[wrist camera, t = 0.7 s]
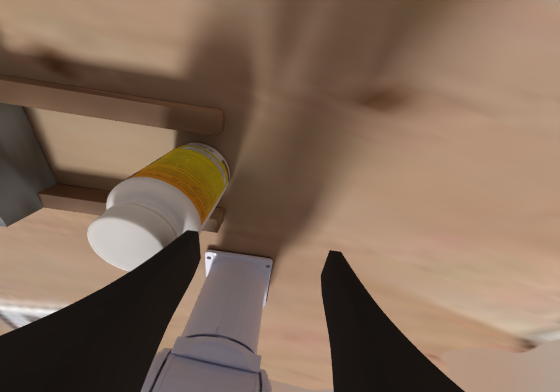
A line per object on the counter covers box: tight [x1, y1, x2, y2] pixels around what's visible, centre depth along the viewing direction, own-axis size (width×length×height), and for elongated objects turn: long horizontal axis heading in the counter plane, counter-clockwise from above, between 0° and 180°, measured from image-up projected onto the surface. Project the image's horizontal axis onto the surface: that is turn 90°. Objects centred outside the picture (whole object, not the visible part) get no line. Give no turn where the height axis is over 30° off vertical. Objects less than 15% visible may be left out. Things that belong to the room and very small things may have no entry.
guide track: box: [0, 75, 224, 233], centre depth 17 cm, size 11×19×5 cm, turn 82°
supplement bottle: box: [87, 142, 230, 271], centre depth 15 cm, size 6×6×10 cm
